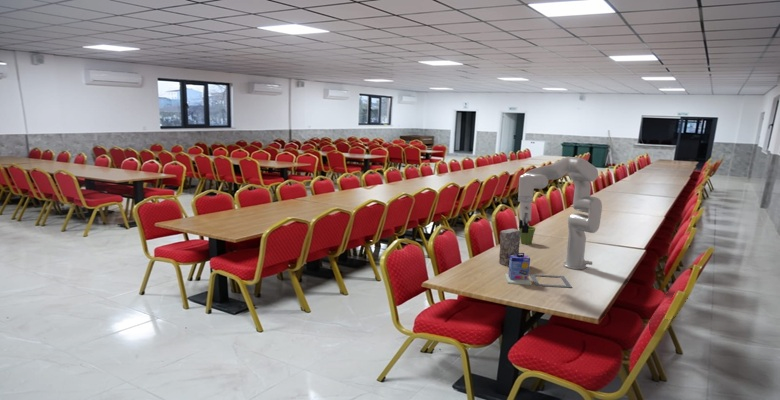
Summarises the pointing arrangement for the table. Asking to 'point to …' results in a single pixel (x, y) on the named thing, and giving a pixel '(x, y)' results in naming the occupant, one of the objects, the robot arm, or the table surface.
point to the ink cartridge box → (519, 267)
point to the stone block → (509, 244)
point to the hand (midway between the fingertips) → (523, 230)
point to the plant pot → (527, 235)
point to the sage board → (517, 281)
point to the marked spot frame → (550, 285)
